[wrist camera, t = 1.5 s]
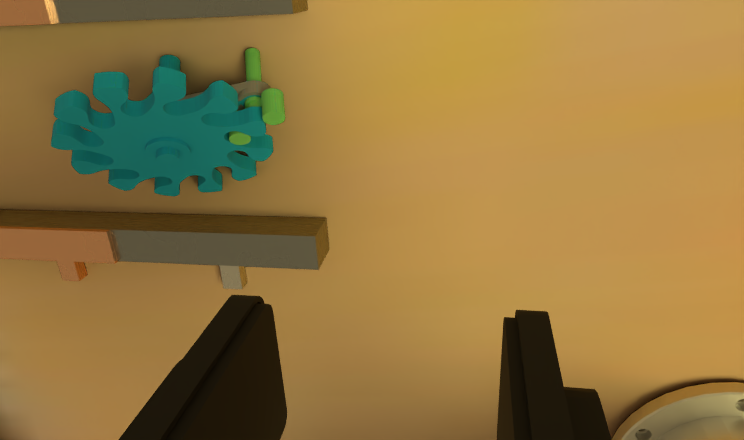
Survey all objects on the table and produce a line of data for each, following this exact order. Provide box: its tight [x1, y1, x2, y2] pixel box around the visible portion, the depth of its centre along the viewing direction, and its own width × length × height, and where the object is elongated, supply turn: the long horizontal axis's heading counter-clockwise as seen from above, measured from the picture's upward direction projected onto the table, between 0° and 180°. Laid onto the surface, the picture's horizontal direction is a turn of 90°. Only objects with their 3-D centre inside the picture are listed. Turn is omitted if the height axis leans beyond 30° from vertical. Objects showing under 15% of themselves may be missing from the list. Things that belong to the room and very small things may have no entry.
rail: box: [0, 0, 329, 289], centre depth 30 cm, size 20×24×3 cm
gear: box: [51, 48, 285, 196], centre depth 27 cm, size 11×6×10 cm
